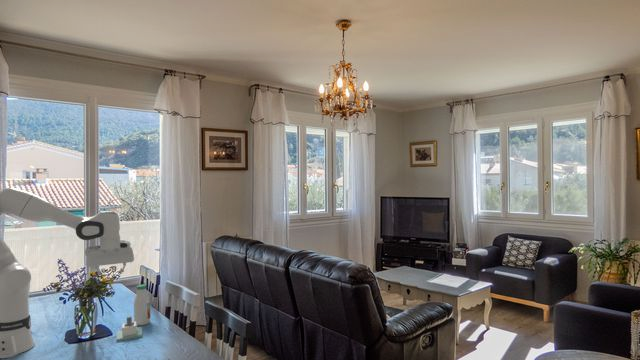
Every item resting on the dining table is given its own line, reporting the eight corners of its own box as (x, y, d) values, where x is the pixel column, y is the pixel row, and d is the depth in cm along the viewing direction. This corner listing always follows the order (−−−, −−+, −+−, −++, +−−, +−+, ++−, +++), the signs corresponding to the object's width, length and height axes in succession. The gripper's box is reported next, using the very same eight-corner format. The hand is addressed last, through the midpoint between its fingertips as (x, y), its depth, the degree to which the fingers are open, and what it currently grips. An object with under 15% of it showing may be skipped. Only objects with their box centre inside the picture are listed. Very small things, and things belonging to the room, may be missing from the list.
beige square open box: (122, 336, 190) (121, 327, 190) (122, 331, 195) (122, 323, 195) (136, 333, 192) (136, 325, 192) (136, 329, 198) (136, 321, 198)
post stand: (116, 341, 187) (115, 323, 186) (117, 333, 197) (116, 315, 196) (142, 337, 191) (141, 319, 191) (141, 329, 201) (141, 311, 201)
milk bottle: (144, 326, 205) (143, 287, 204) (131, 325, 206) (129, 287, 206) (153, 320, 212) (152, 283, 212) (140, 320, 214) (139, 283, 213)
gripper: (84, 248, 183) (85, 278, 183) (133, 243, 191) (134, 272, 192) (85, 245, 188) (86, 274, 189) (133, 241, 197) (134, 269, 197)
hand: (111, 273), depth 190 cm, fingers open, 8 cm apart
